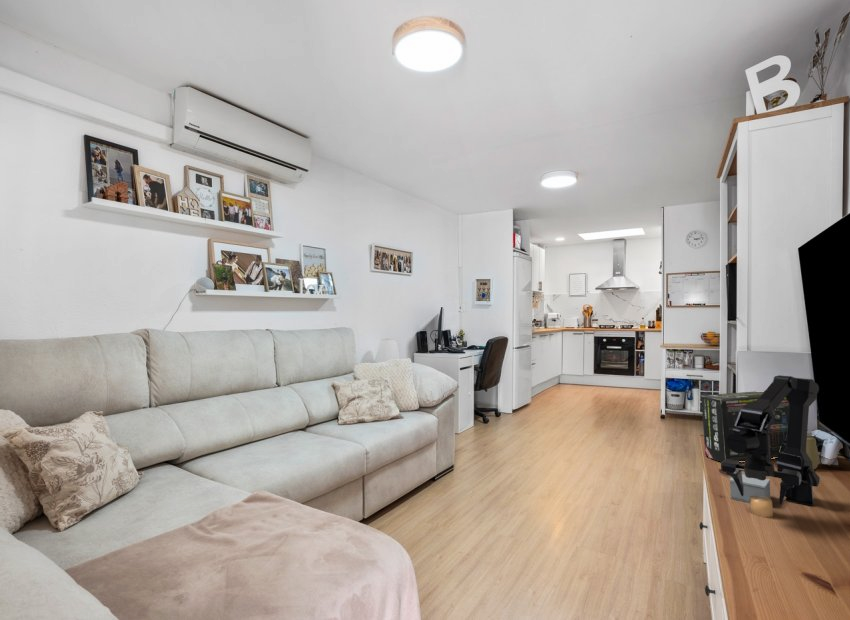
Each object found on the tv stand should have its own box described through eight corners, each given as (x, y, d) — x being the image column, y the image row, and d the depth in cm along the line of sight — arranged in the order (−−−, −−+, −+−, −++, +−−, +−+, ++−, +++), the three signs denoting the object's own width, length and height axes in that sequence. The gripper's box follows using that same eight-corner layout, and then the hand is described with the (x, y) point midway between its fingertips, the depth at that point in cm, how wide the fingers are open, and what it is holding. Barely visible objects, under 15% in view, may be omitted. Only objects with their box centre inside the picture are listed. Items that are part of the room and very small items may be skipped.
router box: (772, 450, 187) (769, 389, 188) (798, 457, 176) (794, 393, 177) (702, 456, 182) (698, 394, 183) (724, 465, 171) (720, 398, 172)
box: (770, 498, 139) (769, 481, 139) (765, 506, 132) (764, 489, 133) (737, 490, 145) (736, 474, 145) (731, 498, 139) (730, 481, 139)
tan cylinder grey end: (774, 513, 128) (773, 498, 128) (771, 519, 124) (770, 503, 124) (752, 508, 132) (752, 493, 132) (749, 513, 128) (748, 498, 128)
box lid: (770, 481, 139) (769, 479, 139) (764, 488, 132) (764, 486, 132) (735, 474, 145) (735, 472, 145) (729, 481, 139) (729, 479, 139)
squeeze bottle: (787, 466, 167) (785, 420, 167) (799, 463, 170) (796, 418, 170) (813, 472, 159) (810, 424, 160) (824, 469, 162) (821, 422, 163)
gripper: (715, 448, 130) (718, 499, 129) (794, 461, 116) (798, 518, 116) (723, 440, 138) (726, 488, 137) (799, 451, 124) (803, 505, 123)
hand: (761, 499), depth 128 cm, fingers open, 9 cm apart
